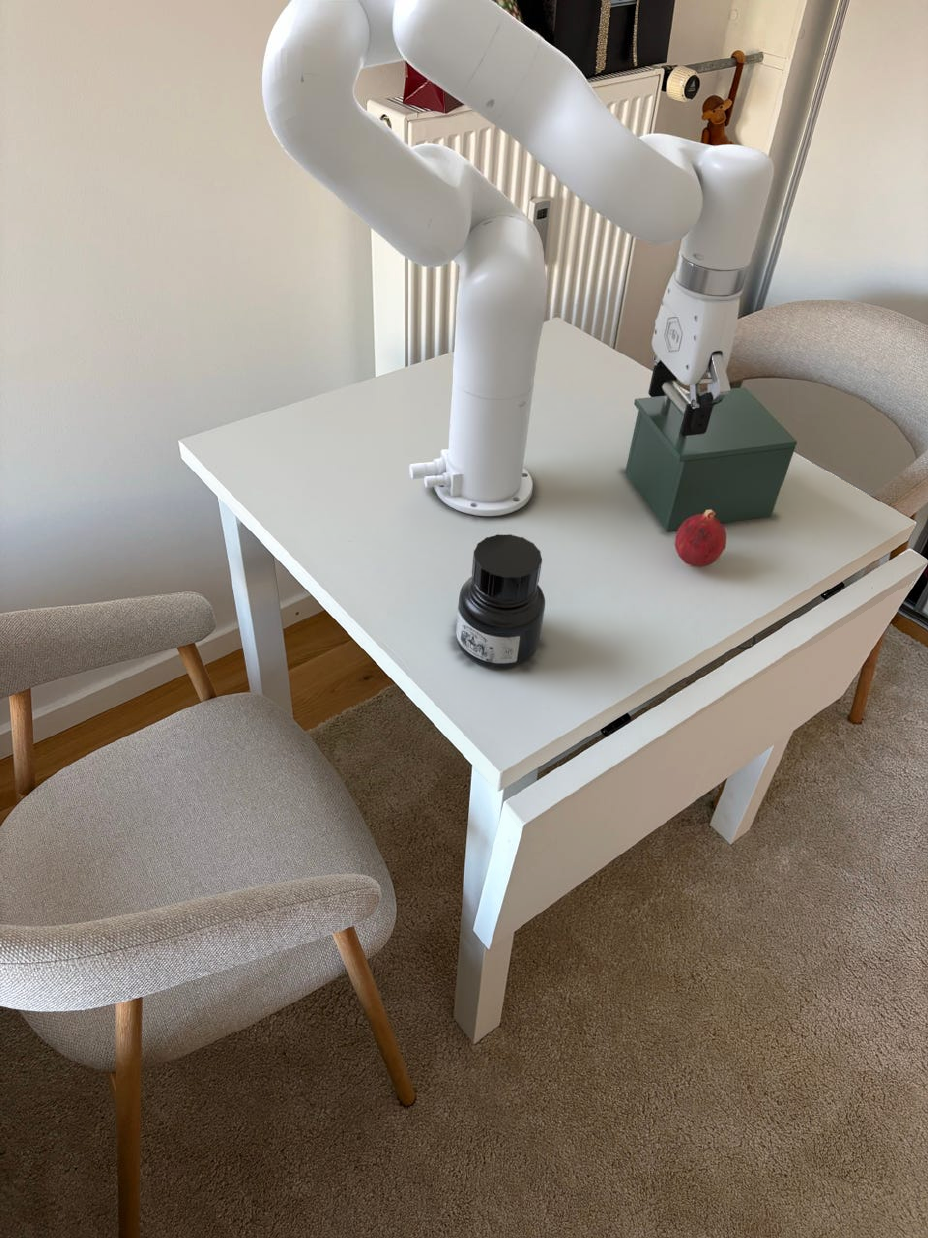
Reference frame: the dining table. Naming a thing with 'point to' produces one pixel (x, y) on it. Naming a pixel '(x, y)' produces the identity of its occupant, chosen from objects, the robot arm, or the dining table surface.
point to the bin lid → (714, 425)
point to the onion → (700, 539)
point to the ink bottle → (501, 603)
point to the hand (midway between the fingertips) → (676, 413)
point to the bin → (704, 480)
